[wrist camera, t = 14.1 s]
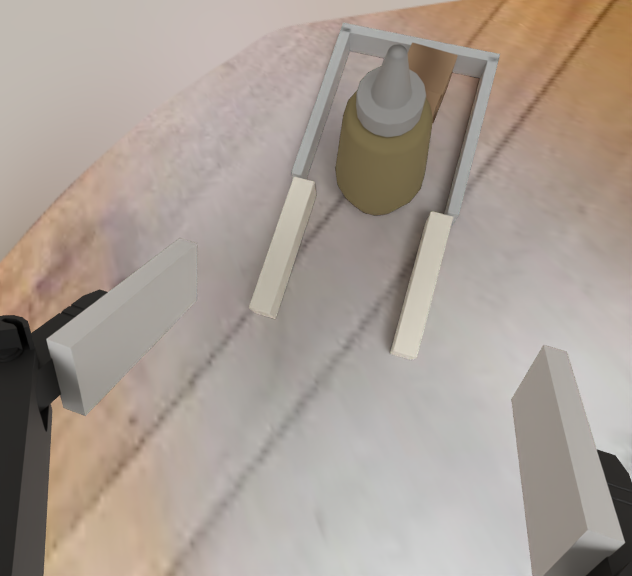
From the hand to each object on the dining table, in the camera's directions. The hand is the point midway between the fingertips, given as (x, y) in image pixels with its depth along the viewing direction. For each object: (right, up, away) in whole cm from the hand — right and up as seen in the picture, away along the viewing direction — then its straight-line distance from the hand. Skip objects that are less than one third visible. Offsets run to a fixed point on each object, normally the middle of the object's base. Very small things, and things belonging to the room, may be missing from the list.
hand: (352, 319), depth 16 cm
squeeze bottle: (+5, +11, +27) cm, 29 cm away
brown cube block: (+9, +21, +29) cm, 37 cm away
